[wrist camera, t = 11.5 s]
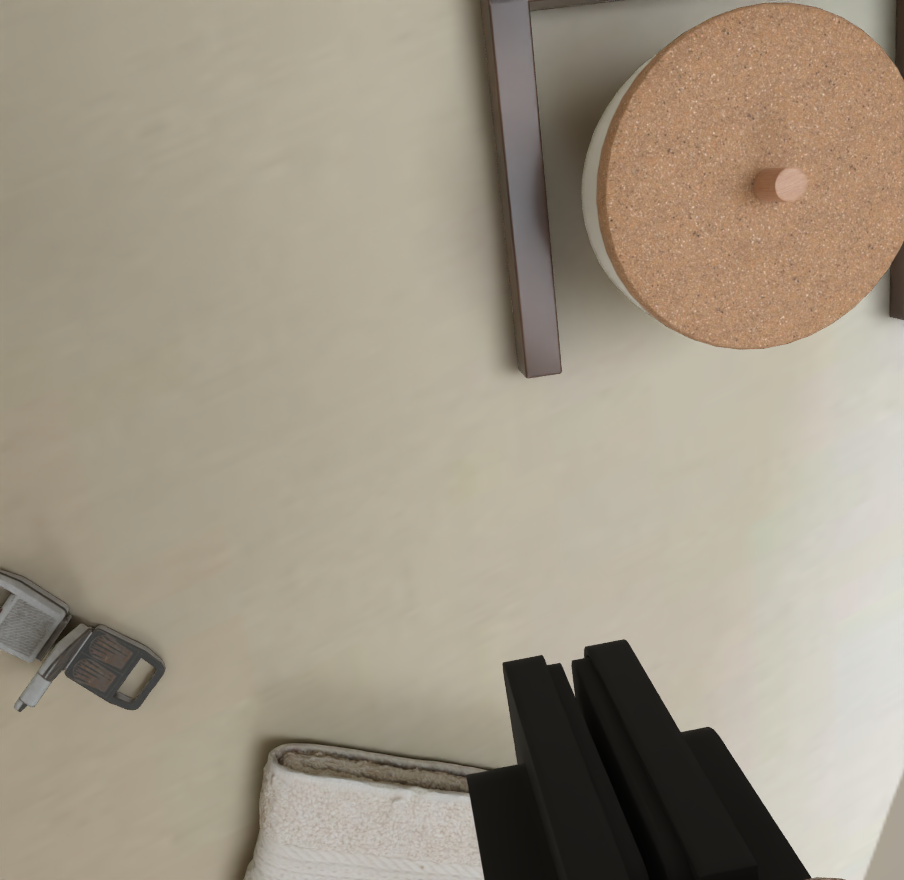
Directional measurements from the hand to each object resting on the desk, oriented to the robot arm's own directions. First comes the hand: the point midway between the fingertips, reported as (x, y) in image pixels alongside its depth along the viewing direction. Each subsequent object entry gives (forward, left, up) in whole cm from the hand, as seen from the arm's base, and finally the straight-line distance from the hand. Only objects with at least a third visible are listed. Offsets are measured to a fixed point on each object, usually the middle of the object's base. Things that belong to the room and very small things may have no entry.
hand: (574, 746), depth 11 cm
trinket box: (-6, +11, -26) cm, 29 cm away
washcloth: (+24, -3, -26) cm, 36 cm away
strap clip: (+9, -17, -26) cm, 32 cm away
